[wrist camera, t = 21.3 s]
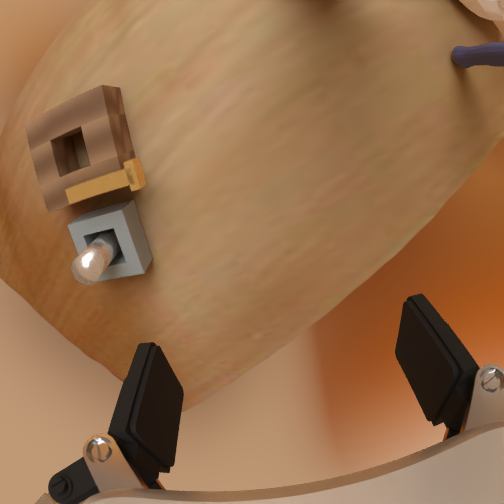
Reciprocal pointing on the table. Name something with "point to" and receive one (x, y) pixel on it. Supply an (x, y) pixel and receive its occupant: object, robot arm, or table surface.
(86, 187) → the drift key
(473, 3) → the decorative rooster
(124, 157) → the socket block
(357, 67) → the table surface
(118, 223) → the grey square ring block
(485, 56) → the rubber mallet
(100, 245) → the steel peg
